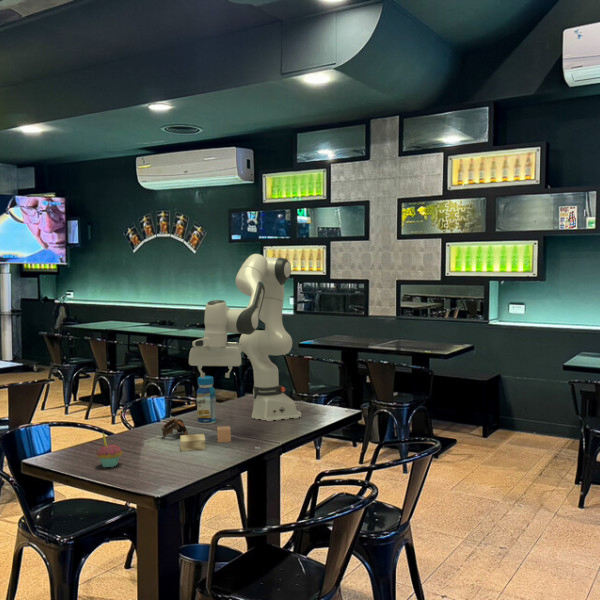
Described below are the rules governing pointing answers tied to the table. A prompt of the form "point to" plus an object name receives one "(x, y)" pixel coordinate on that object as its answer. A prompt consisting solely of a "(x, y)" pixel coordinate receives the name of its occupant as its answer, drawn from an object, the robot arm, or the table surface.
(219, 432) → the terracotta cube
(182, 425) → the brown rounded piece
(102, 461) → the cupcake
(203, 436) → the beech block
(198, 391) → the vitamin bottle
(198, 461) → the table surface
